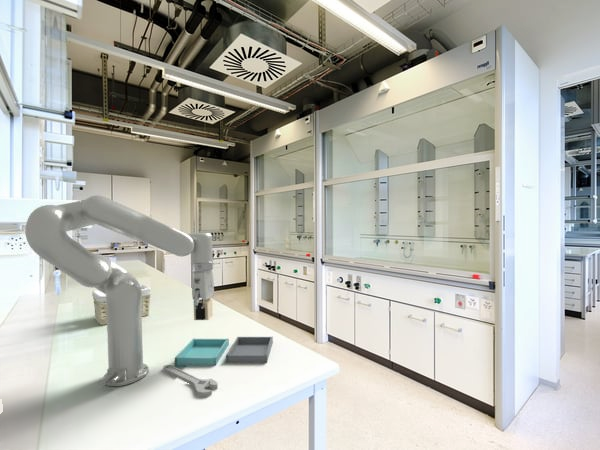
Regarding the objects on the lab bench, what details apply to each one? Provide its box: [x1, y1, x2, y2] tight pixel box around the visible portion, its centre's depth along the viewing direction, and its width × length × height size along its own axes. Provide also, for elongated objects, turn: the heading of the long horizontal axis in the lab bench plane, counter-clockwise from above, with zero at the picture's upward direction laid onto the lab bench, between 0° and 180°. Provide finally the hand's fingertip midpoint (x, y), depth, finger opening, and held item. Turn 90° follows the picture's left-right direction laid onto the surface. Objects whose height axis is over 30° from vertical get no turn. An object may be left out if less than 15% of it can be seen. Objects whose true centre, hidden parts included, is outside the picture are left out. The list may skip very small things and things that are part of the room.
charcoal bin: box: [225, 336, 274, 364], centre depth 111 cm, size 16×14×3 cm
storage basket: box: [91, 283, 152, 326], centre depth 153 cm, size 24×16×15 cm
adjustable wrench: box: [162, 364, 219, 398], centre depth 94 cm, size 25×6×2 cm, turn 50°
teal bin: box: [174, 338, 230, 368], centre depth 109 cm, size 16×14×3 cm
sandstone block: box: [193, 298, 214, 321], centre depth 109 cm, size 5×5×6 cm
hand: (203, 316), depth 109 cm, fingers closed on sandstone block, 5 cm apart
